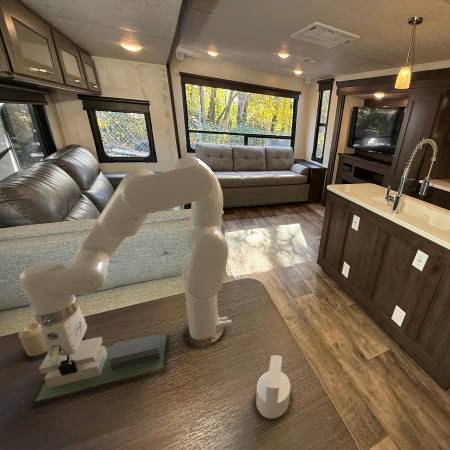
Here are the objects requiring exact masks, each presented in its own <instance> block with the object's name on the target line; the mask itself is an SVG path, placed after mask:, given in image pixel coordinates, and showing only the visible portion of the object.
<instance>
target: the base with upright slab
mask: <svg viewBox="0 0 450 450" xmlns="http://www.w3.org/2000/svg"><path fill="white" fill-rule="evenodd" d="M282 363H283V356H282V355H278V354H274V355H273V354H272V355H270V362H269V367H268V371H266V372H264V373H263V374H262V375H261V376H260V377H259V378H258V379H257V383H256V395H255V396H256V399H255V404H256V408H257V411H258V412H259V414H260V415H261V416H262V417H264V418H266V419H271V420H272V419H277V418H279V417H281V416H282V415H284V414H285V413H286V411H287V409H288V408H289V405H290V398H291V397H290V394H291V381H290V379H289V377H288V376H287V375H286V374H285V373H284V372H282V366H283V365H282Z"/></svg>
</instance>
